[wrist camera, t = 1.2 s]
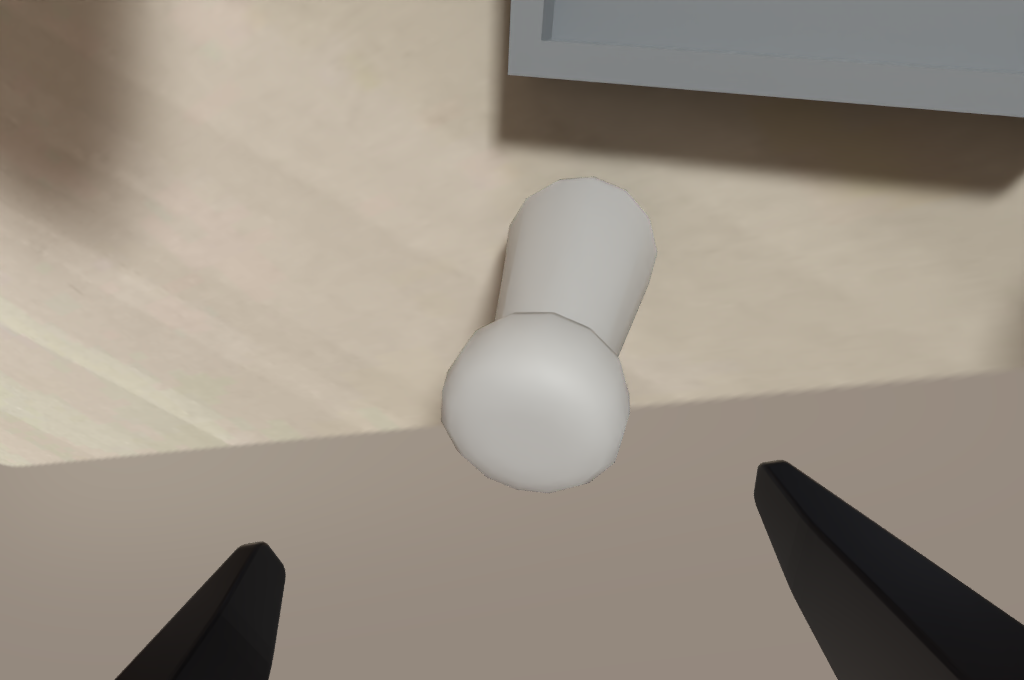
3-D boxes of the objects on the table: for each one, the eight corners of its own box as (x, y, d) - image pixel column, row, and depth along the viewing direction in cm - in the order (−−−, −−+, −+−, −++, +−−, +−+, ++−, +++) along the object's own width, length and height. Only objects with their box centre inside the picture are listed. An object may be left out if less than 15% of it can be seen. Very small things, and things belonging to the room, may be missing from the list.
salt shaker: (559, 311, 23) (485, 550, 13) (495, 207, 21) (342, 387, 11) (679, 259, 21) (711, 505, 10) (617, 134, 19) (576, 277, 8)
